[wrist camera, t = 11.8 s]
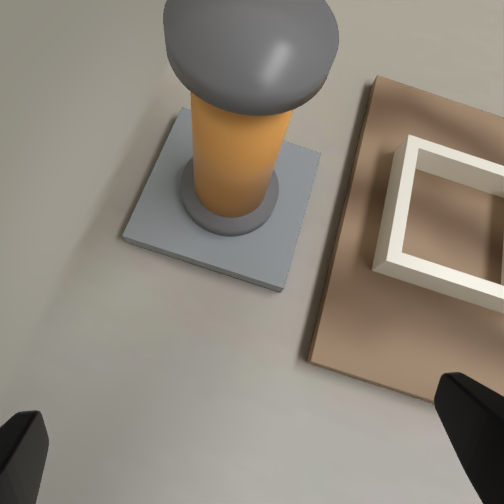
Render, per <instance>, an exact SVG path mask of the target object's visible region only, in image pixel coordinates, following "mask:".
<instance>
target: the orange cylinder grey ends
mask: <svg viewBox="0 0 504 504" xmlns="http://www.w3.org/2000/svg"><path fill="white" fill-rule="evenodd" d="M163 24H164V33H165V42H166V51H167V57H168V60H169V62H170V65H171V67H172V69H173V71H174V73H175V74H176V76H177V77H178V79H179V80H180V81H181V82H182V83H183V85H184V86H185V87H186V88H187V89H188V90H190V91H191V115H192V141H193V157H192V158H191V159H190V160H189V161H188V163H187V164H186V166H185V168H184V170H183V173H182V176H181V195H182V201H183V205H184V207H185V210H186V212H187V213H188V215H189V216H190V218H191V219H192V220H193V221H194V222H195V223H196V224H197V225H198V226H200V227H201V228H203V229H204V230H206V231H208V232H210V233H213V234H216V235H221V236H228V237H232V236H242V235H245V234H248V233H251V232H253V231H255V230H257V229H258V228H260V227H261V226H262V225H263V224H264V223H265V222H266V221H267V220H268V219H269V217H270V216H271V214H272V212H273V210H274V207H275V205H276V202H277V199H278V194H279V183H278V178H277V175H276V173H275V171H274V167H275V164H276V161H277V158H278V154H279V151H280V148H281V145H282V142H283V139H284V136H285V133H286V130H287V127H288V124H289V121H290V118H291V115H292V112H293V109H295V108H297V107H299V106H301V105H303V104H305V103H306V102H308V101H309V100H310V99H312V98H313V97H314V96H315V95H316V94H317V93H318V91H319V90H320V89H321V88H322V86H323V84H324V82H325V81H326V79H327V76H328V74H329V71H330V69H331V66H332V64H333V61H334V59H335V56H336V53H337V50H338V45H339V31H338V25H337V22H336V19H335V16H334V14H333V12H332V11H331V9H330V7H329V6H328V4H327V3H326V1H325V0H167V1H166V4H165V8H164V13H163Z"/></svg>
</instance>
